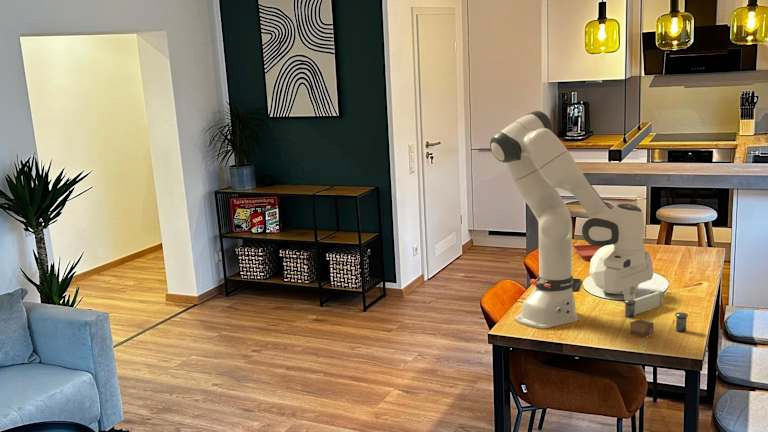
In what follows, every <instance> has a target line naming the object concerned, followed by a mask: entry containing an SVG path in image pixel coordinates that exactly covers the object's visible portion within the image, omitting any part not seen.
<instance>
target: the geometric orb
mask: <svg viewBox="0 0 768 432" xmlns="http://www.w3.org/2000/svg"><path fill="white" fill-rule="evenodd" d="M613 251H614V245H613V244H612V245H606V246H604V247H602V248H600V249H599V250H598V251H597V252H596V253H595V255H594V256H593V257H592V259H591V260H590V262H589V263H590V264H589V273H588V274H589V275H590V277H591V279H592V281H593V282H594V284H595V286H596V287H598V288H599V289H600V290H602V291H604V292H605V293H608V294H613V295H619V296H624V294H623V292H622V291H619V292H617V293H612V292H608V291H606V289H605V286H604V272H605V269H606V267H607V266H604V260H605V259H606V258H607V257H608V256H609V255H610V254H611V253H612V252H613Z"/></svg>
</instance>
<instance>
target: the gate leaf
mask: <svg viewBox="0 0 768 432" xmlns="http://www.w3.org/2000/svg"><path fill="white" fill-rule="evenodd" d="M633 300H635V301H636V303H635V307H634V316H635V315H638V314H640V313H643V312H646V311H650V310H653V309H656V308H658V307H661V306H664V291H662V290H659V291H655V292H653V293H649V294H646V295H643V296H639V297H637V298H634V299H633Z"/></svg>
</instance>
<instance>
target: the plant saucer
mask: <svg viewBox="0 0 768 432" xmlns="http://www.w3.org/2000/svg"><path fill="white" fill-rule="evenodd" d="M602 247H604V246H593V245H591V244H580V245H579V244H577V245H572V249H574V250H575V252H576V253H577V254H578V255H579V256H580V257H581V258H582V260H583V261H591V259H592V257H593V256H594V255H595V253H596V252H597V251H598V250H599V249H600V248H602Z"/></svg>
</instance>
